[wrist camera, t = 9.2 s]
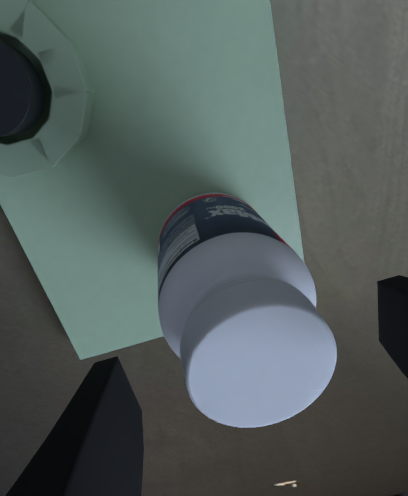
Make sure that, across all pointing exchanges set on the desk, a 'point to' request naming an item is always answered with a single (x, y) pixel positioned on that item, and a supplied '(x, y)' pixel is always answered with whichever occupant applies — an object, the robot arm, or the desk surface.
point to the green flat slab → (138, 145)
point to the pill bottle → (240, 313)
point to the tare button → (18, 92)
